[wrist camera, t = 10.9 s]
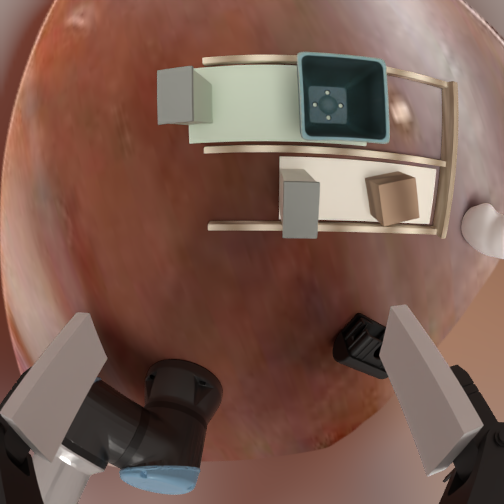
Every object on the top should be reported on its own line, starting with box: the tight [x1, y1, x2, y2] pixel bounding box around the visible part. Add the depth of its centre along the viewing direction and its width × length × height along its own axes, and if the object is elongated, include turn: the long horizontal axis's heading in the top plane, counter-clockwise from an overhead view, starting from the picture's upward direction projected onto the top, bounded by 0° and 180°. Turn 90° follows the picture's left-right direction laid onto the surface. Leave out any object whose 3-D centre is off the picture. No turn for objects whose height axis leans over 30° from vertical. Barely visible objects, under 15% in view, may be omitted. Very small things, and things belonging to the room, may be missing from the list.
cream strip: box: [279, 156, 436, 238], centre depth 30 cm, size 22×8×11 cm, turn 91°
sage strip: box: [157, 65, 367, 146], centre depth 27 cm, size 22×10×11 cm, turn 91°
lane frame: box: [203, 55, 458, 238], centre depth 32 cm, size 33×22×3 cm
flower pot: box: [297, 52, 390, 144], centre depth 27 cm, size 9×9×9 cm
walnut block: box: [365, 171, 419, 226], centre depth 33 cm, size 5×5×5 cm
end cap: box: [333, 313, 388, 379], centre depth 42 cm, size 10×7×7 cm
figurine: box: [461, 203, 504, 259], centre depth 30 cm, size 7×8×12 cm
